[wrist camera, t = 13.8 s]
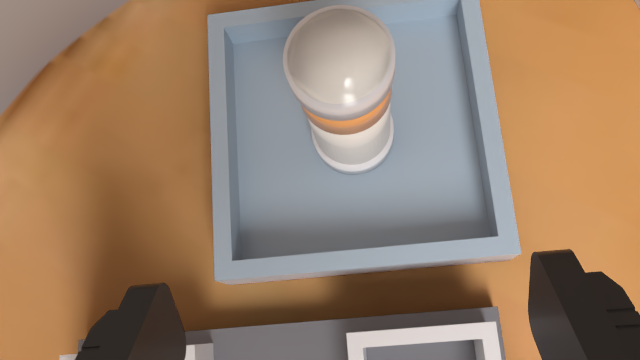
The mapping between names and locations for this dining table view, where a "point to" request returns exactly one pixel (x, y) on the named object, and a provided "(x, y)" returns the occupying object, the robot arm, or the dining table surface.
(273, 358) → the fuse holder
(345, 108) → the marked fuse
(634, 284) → the dining table surface
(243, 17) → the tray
